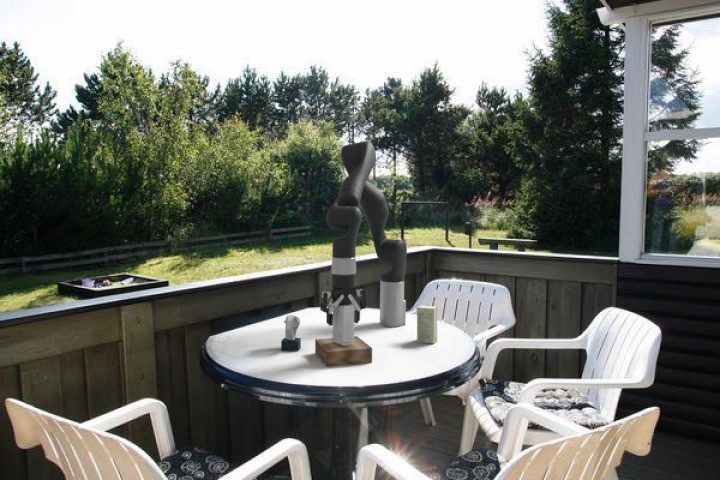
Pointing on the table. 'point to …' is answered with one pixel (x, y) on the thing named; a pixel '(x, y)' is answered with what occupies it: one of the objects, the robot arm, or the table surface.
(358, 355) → the walnut block
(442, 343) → the table surface
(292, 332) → the white bust on pedestal
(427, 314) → the skincare box
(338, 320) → the skincare box
